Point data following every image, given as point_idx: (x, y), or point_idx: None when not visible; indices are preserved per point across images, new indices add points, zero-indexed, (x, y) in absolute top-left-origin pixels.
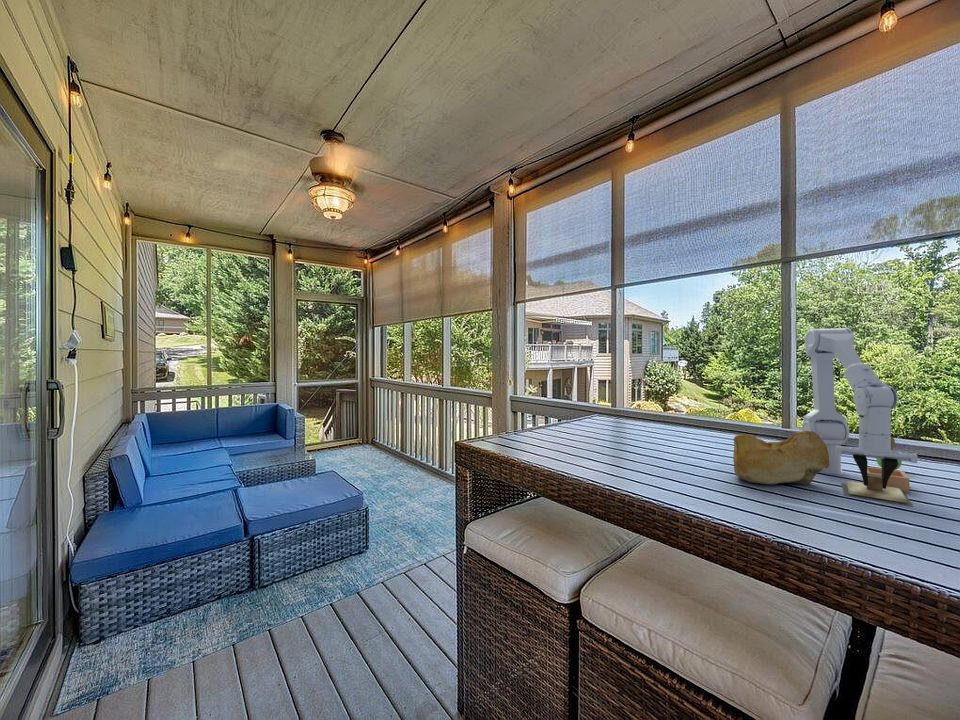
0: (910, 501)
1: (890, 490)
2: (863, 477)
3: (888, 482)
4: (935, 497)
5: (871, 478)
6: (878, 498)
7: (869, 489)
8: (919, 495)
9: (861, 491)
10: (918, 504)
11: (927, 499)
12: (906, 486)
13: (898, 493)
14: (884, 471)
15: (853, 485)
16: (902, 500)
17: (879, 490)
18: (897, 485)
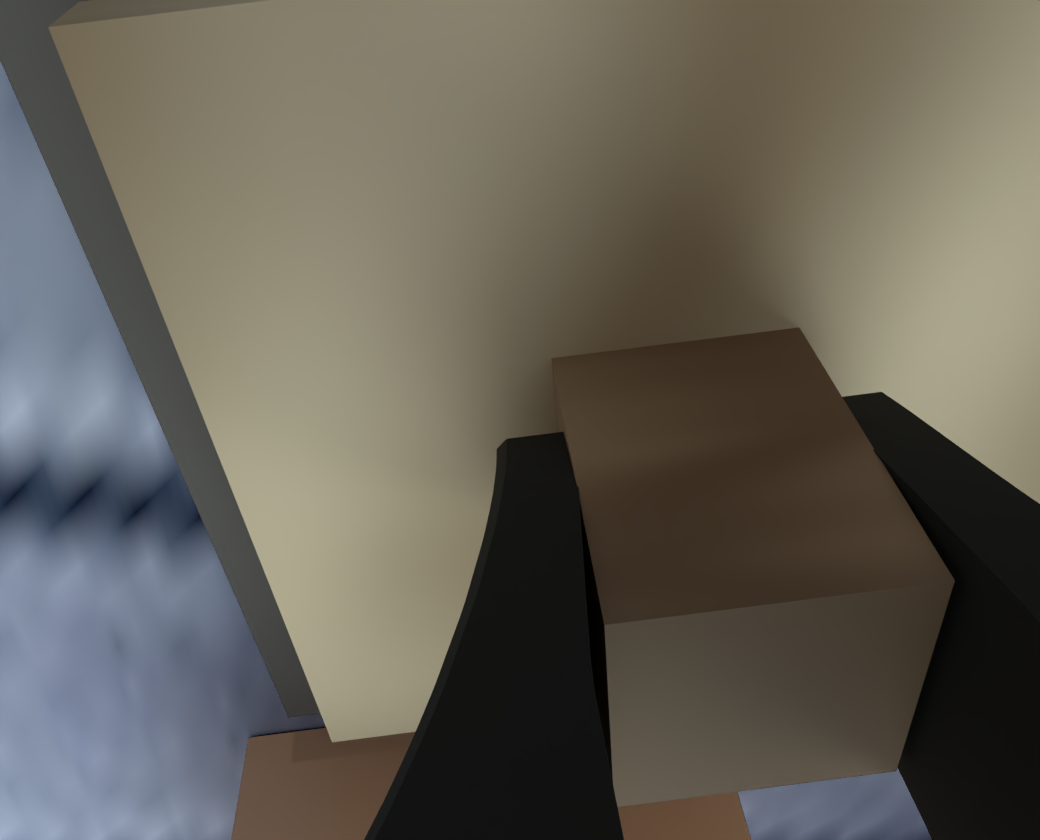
0: (111, 310)
1: (428, 549)
2: (1034, 508)
3: None
4: (2, 783)
5: (846, 538)
6: None
7: (777, 334)
8: (151, 752)
9: (992, 37)
10: (10, 312)
11: (29, 661)
12: (263, 836)
13: (296, 450)
14: (601, 834)
15: (991, 454)
16: (152, 5)
17: (605, 368)
18: (364, 818)
